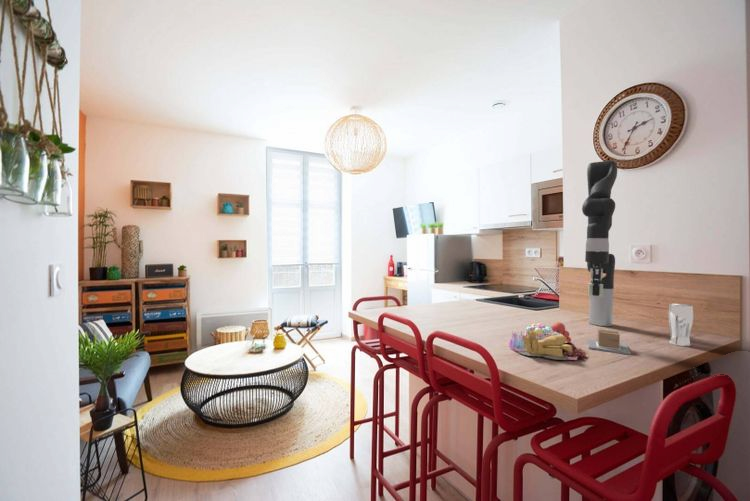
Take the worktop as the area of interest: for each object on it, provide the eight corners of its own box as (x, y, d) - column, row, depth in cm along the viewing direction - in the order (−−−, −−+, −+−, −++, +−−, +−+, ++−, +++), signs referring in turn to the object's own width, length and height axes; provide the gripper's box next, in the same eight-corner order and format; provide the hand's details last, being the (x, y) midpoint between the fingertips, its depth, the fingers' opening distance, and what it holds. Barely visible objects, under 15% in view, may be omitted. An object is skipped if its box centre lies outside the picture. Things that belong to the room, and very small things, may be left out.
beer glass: (693, 347, 126) (694, 307, 125) (668, 344, 130) (669, 304, 129) (690, 343, 131) (692, 304, 131) (666, 340, 135) (668, 302, 135)
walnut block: (597, 342, 129) (598, 328, 128) (617, 344, 126) (617, 331, 125) (598, 346, 123) (599, 332, 123) (619, 348, 120) (619, 334, 120)
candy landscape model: (597, 365, 106) (598, 335, 106) (516, 359, 110) (517, 330, 110) (567, 343, 130) (568, 318, 130) (502, 338, 135) (503, 315, 135)
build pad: (587, 340, 133) (587, 339, 133) (626, 345, 127) (626, 344, 127) (588, 348, 122) (589, 346, 122) (630, 354, 116) (630, 352, 116)
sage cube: (588, 294, 136) (588, 283, 136) (602, 295, 133) (602, 284, 133) (588, 295, 132) (589, 284, 132) (602, 296, 129) (603, 284, 129)
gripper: (585, 250, 140) (584, 292, 140) (585, 250, 128) (584, 295, 128) (607, 250, 136) (606, 293, 137) (610, 250, 124) (608, 297, 124)
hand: (595, 294), depth 132 cm, fingers closed on sage cube, 4 cm apart
